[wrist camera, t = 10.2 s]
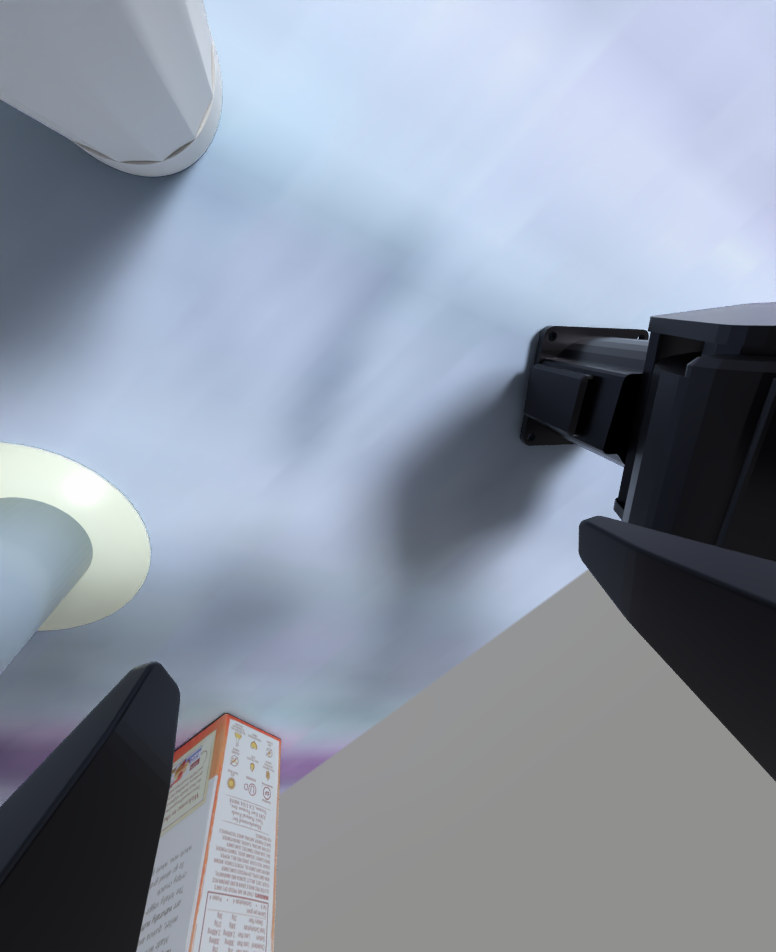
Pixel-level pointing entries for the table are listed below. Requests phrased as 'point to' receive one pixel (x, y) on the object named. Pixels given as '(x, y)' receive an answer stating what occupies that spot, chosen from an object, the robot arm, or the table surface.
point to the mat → (102, 517)
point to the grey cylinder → (35, 567)
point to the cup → (116, 77)
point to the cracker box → (217, 845)
